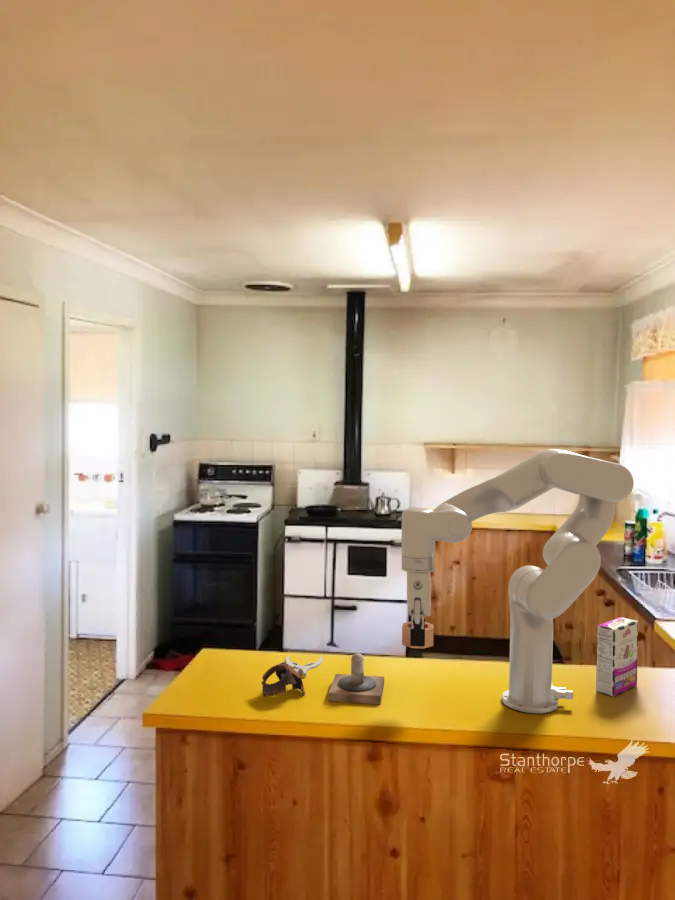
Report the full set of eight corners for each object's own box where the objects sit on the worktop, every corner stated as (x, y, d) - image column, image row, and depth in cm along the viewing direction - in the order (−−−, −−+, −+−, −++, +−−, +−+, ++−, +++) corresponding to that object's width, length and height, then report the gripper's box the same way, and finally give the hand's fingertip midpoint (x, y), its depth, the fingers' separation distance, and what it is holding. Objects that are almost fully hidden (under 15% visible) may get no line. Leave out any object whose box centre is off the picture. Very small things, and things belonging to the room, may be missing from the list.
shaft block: (384, 684, 177) (384, 646, 176) (380, 704, 165) (381, 663, 164) (335, 681, 178) (335, 644, 178) (328, 701, 166) (328, 660, 166)
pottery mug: (310, 703, 166) (295, 677, 164) (273, 721, 166) (257, 695, 164) (304, 672, 178) (290, 647, 175) (269, 689, 178) (254, 664, 175)
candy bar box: (618, 680, 181) (620, 616, 180) (637, 686, 177) (639, 620, 176) (594, 691, 174) (596, 624, 173) (613, 697, 170) (615, 629, 169)
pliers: (323, 653, 195) (319, 673, 180) (323, 659, 195) (319, 679, 181) (287, 652, 196) (279, 672, 181) (286, 658, 196) (279, 678, 181)
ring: (433, 638, 167) (433, 621, 167) (433, 648, 160) (433, 631, 160) (403, 637, 168) (403, 620, 168) (401, 647, 161) (401, 629, 161)
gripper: (435, 572, 154) (434, 653, 155) (434, 555, 171) (434, 629, 172) (399, 571, 155) (399, 652, 156) (403, 554, 172) (403, 628, 173)
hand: (417, 639), depth 164 cm, fingers closed on ring, 7 cm apart
